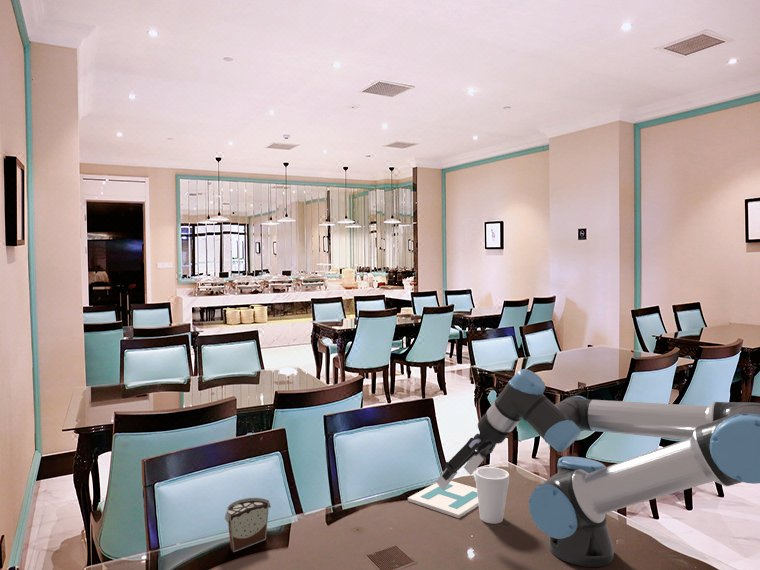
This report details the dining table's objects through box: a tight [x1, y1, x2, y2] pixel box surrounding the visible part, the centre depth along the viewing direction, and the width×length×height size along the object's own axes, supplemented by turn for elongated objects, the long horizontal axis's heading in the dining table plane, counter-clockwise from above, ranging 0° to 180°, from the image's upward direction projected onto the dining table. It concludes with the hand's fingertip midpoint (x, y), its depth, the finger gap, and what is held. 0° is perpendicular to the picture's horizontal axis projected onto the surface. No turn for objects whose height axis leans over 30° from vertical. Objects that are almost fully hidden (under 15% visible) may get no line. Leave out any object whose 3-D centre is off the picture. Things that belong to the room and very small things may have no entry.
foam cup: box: [474, 466, 510, 524], centre depth 157 cm, size 10×9×13 cm
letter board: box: [407, 480, 479, 519], centre depth 171 cm, size 18×20×1 cm
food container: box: [224, 497, 272, 553], centre depth 143 cm, size 12×6×10 cm, turn 134°
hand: (454, 478), depth 147 cm, fingers open, 13 cm apart
